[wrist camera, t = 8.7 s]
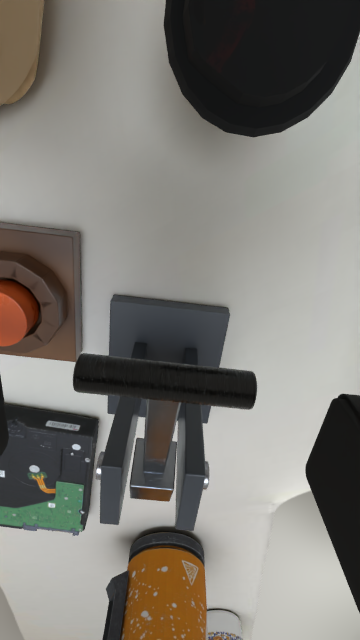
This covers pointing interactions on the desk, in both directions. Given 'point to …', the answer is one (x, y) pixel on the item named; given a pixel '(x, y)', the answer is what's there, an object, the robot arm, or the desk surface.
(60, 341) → the button block
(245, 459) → the desk surface
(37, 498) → the disk drive
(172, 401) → the lever
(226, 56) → the coffee cup
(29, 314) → the button
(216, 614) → the bath foam
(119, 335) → the bracket
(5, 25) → the container
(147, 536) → the canister
